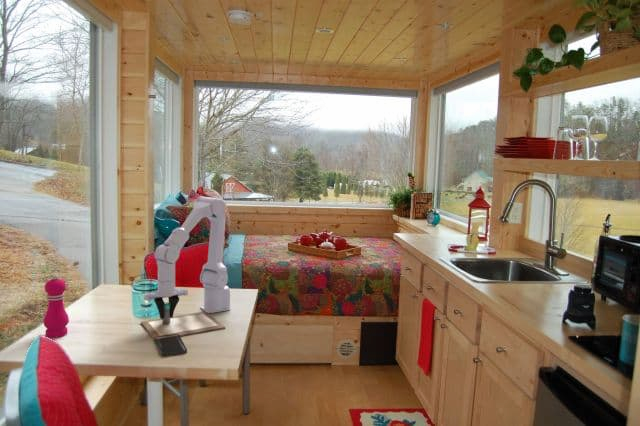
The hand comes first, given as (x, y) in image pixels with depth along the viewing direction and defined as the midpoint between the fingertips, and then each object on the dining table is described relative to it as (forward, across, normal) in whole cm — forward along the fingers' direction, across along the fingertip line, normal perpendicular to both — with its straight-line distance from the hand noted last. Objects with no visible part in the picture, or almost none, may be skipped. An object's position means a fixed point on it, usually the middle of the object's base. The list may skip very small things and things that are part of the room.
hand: (166, 317), depth 170 cm
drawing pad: (+3, -5, +3) cm, 6 cm away
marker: (+2, 0, 0) cm, 2 cm away
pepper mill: (+3, +33, -8) cm, 34 cm away
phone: (+3, +4, +18) cm, 19 cm away
